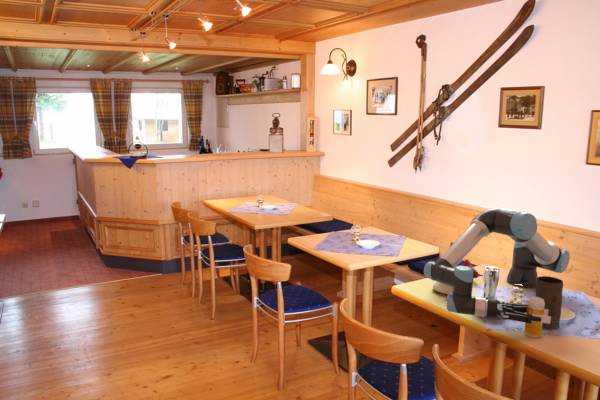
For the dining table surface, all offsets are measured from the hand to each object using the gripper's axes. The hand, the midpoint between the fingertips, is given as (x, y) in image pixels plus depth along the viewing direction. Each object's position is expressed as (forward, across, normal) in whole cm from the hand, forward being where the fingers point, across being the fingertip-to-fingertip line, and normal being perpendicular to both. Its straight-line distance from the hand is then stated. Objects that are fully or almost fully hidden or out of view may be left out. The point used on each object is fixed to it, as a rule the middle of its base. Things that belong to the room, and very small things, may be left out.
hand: (549, 316), depth 193 cm
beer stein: (0, -15, -9) cm, 17 cm away
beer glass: (-21, -34, -9) cm, 41 cm away
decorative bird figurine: (-28, -57, -9) cm, 64 cm away
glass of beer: (-5, 0, -9) cm, 10 cm away
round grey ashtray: (-21, -16, -8) cm, 28 cm away
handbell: (-39, -37, -9) cm, 54 cm away
